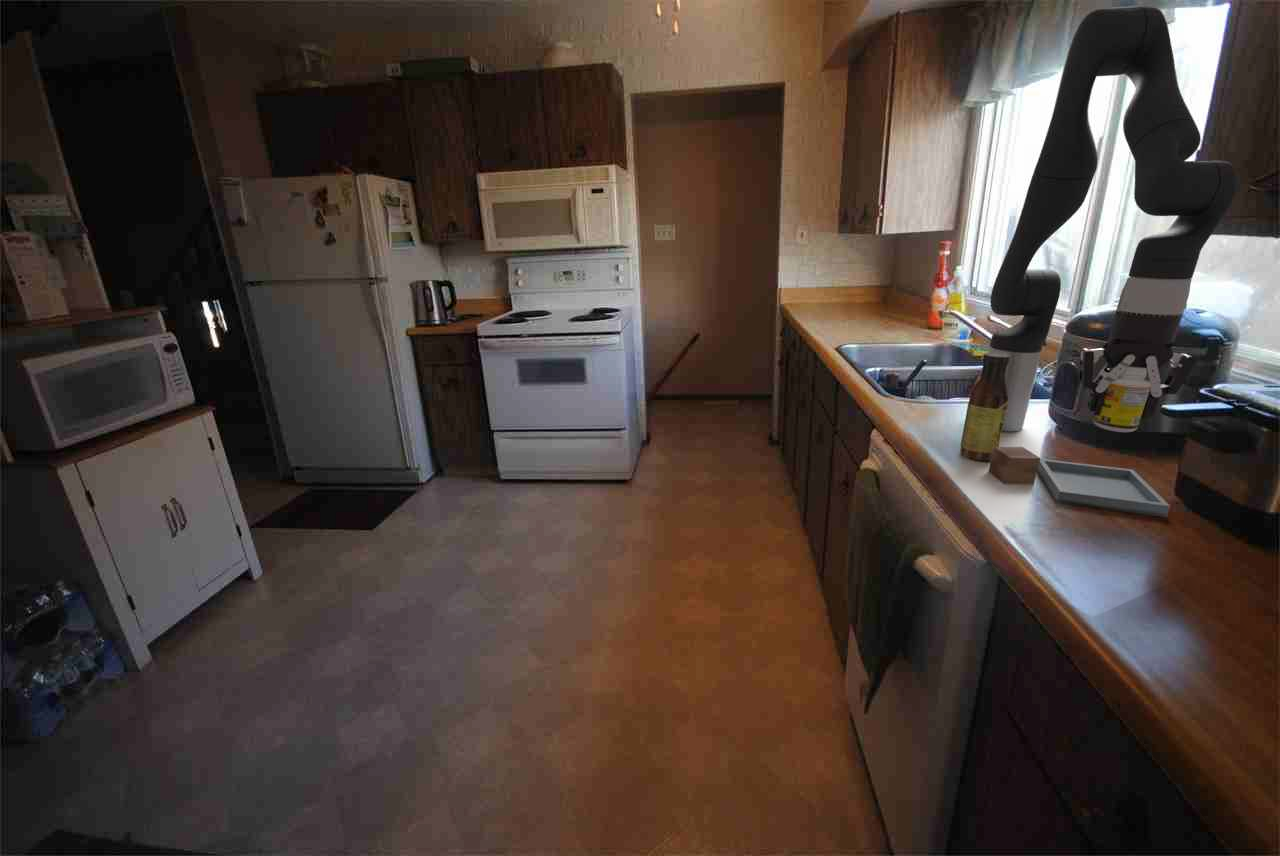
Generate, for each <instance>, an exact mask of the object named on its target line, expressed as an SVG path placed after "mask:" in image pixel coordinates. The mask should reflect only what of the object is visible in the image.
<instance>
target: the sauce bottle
mask: <svg viewBox="0 0 1280 856" xmlns="http://www.w3.org/2000/svg"><path fill="white" fill-rule="evenodd" d="M1009 358H1010V356H1009V355H1006V354H1001V353H988V352H987V353H984V355H983V357H982V369H981V373H980V378H979V380H978V381H977V382H975V384H974V385H973V386H972V387H971V390H970V394H969V400H968V403H967V408H966V413H965V419H964V424H963V430H962V436H961V442H960V454H961V455H962V456H963V457H965V458H966V459H968V460H969V459H970V460H974V461H979V462H989V461H990V462H991V457H992V453H993V449H994V447H1000V446H999V445H1000V444H1001V443H1000V442H1001V437H1002V433H1003V431H1002V429H1003V423H1004V419H1005V414H1006V409H1007V404H1008V393H1007V388H1006V382H1005V373H1006V367H1007V364H1008V363H1009Z"/></svg>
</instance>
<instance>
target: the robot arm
mask: <svg viewBox="0 0 1280 856" xmlns="http://www.w3.org/2000/svg"><path fill="white" fill-rule="evenodd" d="M1064 61H1065V62H1064V66H1063V68H1062V69H1063V70H1062V73H1061V77H1060V81H1059V86H1058V90H1057V95H1056V99H1055V104H1054V108H1053V111H1052V114H1051V119H1050V122H1049V125H1048V128H1047V131H1046V135H1045V139H1044V141H1043V143H1042V147H1041V151H1040V154H1039V156H1038V158H1037V159H1038V160H1037V162H1036V165H1035V167H1034V171H1033V173H1032V176H1031V179H1030V182H1029V185H1028V187H1027V188H1028V189H1027V191H1026V195H1025V198H1024V202H1023V206H1022V209H1021V212H1020V216H1019V219H1018V221H1017V225H1016V227H1015V231H1014V233H1013V237H1012V239H1011V241H1010V244H1009V246H1008V249H1007V251H1006V253H1005V256H1004V258H1003V261H1002V263H1001V266H1000V268H999V270H998V272H997V276H996V278H995V280H994V283H993V287H992V289H991V294H990V308H991V311H992V312H993V313H994V314H995V315H999V316H1006V317H1007V316H1011V317H1012V316H1013V317H1014V316H1015V317H1019V316H1020V317H1022V318H1021V320H1020V321H1019V322H1018V323H1016V324H1014V325H1012V326H1010V327H1007V328H1004V329H1001V330H998V331H995V332H994V333H993V334H992V335H991V338H990V343H989V347H988V352H987V353H1001V354H1006V355H1009V356H1010V358H1009V363H1008V364H1007V367H1006V373H1005V382H1006V388H1007V393H1008V404H1007V409H1006V414H1005V419H1004V423H1003V429H1002V432H1018V431H1019V432H1020V431H1022V430H1023V429H1024V428H1023V427H1024V423H1025V419H1026V415H1027V412H1028V407H1029V403H1030V399H1031V395H1032V392H1033V387H1034V383H1035V380H1036V379H1035V378H1036V376H1037V375H1036V374H1037V371H1038V366H1039V362H1040V358H1041V354H1042V350H1043V346H1044V344H1045V341H1046V339H1047V337H1048V335H1049V332H1050V328H1051V325H1052V322H1053V318H1054V315H1055V312H1056V309H1057V306H1058V303H1059V299H1060V297H1061V296H1060V294H1061V288H1062V280H1061V278H1060V274H1059V273H1058V272H1057V271H1055V270H1053V269H1029V266H1030V263H1031V262H1032V261H1033V258H1034V256H1035V255H1036V253H1037V252H1038V251H1039V250H1040V248H1041V247H1042V245H1043V244H1044V243H1045V242H1046V241H1047V240H1048V239H1049V238H1051V236H1053V235H1054V234H1055V233H1056V232H1057V231H1058V230H1059V229H1061V227H1062V226H1063V225H1065V224H1066V223H1067V222H1068V221H1069V220H1070V219H1071V218H1072V217H1073V216H1074V215H1075V214H1076V213H1077V212H1078V211H1079V209H1080V208H1081V207H1082V205H1083V204H1084V202H1085V200H1086V197H1087V196H1088V193H1089V191H1090V187H1091V185H1092V182H1093V180H1094V177H1095V175H1096V171H1097V169H1098V164H1099V156H1098V155H1099V154H1098V150H1097V146H1096V143H1095V139H1094V135H1093V132H1092V129H1091V123H1090V118H1089V107H1090V101H1091V97H1092V91H1093V87H1094V84H1095V83H1096V79H1097V77H1109V76H1121V75H1125V76H1126V77H1128V78H1129V80H1130V81H1131V82H1132V84H1133V85H1134V88H1135V90H1134V91H1135V92H1134V94H1133V95H1132V98H1131V100H1130V101H1129V104H1128V106H1127V108H1126V109H1125V112H1124V116H1123V122H1122V131H1123V135H1124V138H1125V141H1126V143H1127V145H1128V148H1129V151H1130V152H1131V154H1132V158H1133V159H1134V188H1133V189H1134V190H1133V191H1134V192H1133V195H1134V197H1133V198H1134V202H1135V203H1136V206H1137V207H1138V208H1139V209H1140V211H1142V212H1144V213H1145V214H1147V215H1148V216H1149V215H1150V216H1152V217H1153V216H1154V217H1177V218H1175V220H1174V222H1173V223H1172V224H1171V226H1169V228H1168V229H1167V230H1165V231H1164V232H1161V233H1160V232H1159V233H1156V234H1151V235H1147V236H1145V237H1143V238H1142V239H1140V241H1138V243H1137V246H1136V248H1135V251H1134V255H1133V259H1132V262H1131V265H1130V268H1129V272H1128V276H1127V278H1126V281H1125V283H1124V285H1123V288H1122V290H1121V293H1120V296H1119V299H1118V303H1117V306H1116V307H1117V308H1116V310H1115V313H1114V317H1113V321H1112V323H1111V328H1110V331H1109V336H1108V340H1107V341H1106V343H1105V344H1104V345H1103V346H1102V347H1100V348H1087V347H1083V348H1081V349H1080V350H1079V357H1078V375H1077V376H1078V379H1077V380H1078V381H1077V382H1078V384H1080V385H1082V387H1083V388H1084V389H1089V395H1088V399H1087V402H1086V409H1087V410H1088V411H1089V413H1090V414H1091V415H1092V416H1095V415H1099V414H1100V411H1101V407H1102V404H1103V400H1104V397H1105V393H1103V392H1104V391H1105V390H1106V388H1107V387H1108V386H1109V385H1110V384H1111V382H1112V381H1115V380H1116V379H1117V378H1118V377H1119V376H1120V375H1121V374H1122V372H1123V371H1124V370H1125V369H1126V368H1127V367H1128V366H1130V367H1145V368H1147V377H1146V378H1145V379H1147V380H1149V382H1150V383H1151V388H1150V391H1149V394H1148V397H1147V401H1146V404H1145V407H1144V410H1143V413H1142V416H1141V419H1140V420H1144V421H1145V420H1148V419H1149V417H1152V416H1153V415H1154V414H1155V411H1156V408H1157V405H1158V403H1159V400H1160V398H1161V397H1162V396H1165V395H1166V396H1167V395H1176V394H1178V392H1179V391H1180V389H1181V387H1182V386H1183V384H1184V382H1185V380H1186V379H1187V377H1188V375H1189V374H1190V371H1191V370H1192V368H1193V367H1194V365H1195V363H1196V362H1197V359H1196V357H1195V356H1192V355H1189V354H1187V353H1184V352H1183V353H1177V352H1174V350H1173V345H1174V342H1175V340H1176V337H1177V334H1178V330H1179V327H1180V324H1181V321H1182V319H1183V315H1184V312H1185V310H1186V309H1187V306H1188V303H1187V302H1188V299H1189V296H1190V292H1191V291H1190V290H1191V283H1192V279H1193V276H1194V273H1195V271H1196V268H1197V265H1198V261H1199V259H1200V254H1201V251H1202V249H1203V248H1204V247H1205V244H1206V243H1207V242H1208V241H1209V239H1210V238H1211V236H1212V234H1213V233H1214V231H1215V230H1216V228H1217V226H1218V225H1219V224H1220V222H1221V221H1222V220H1223V218H1224V217H1225V215H1226V213H1227V212H1228V210H1229V209H1230V208H1231V206H1232V204H1233V202H1234V201H1235V199H1236V197H1237V194H1238V191H1239V187H1240V174H1239V170H1238V169H1237V167H1236V166H1235V165H1234V164H1233V163H1231V162H1229V161H1225V160H1188V159H1189V158H1191V157H1192V156H1193V155H1194V153H1196V151H1197V150H1198V148H1199V146H1200V144H1201V139H1202V138H1201V133H1200V130H1199V128H1198V126H1197V124H1196V122H1195V120H1194V117H1193V115H1192V113H1190V112H1191V111H1190V110H1189V108H1188V106H1187V104H1186V102H1185V100H1184V97H1183V96H1182V95H1183V94H1182V91H1181V89H1180V87H1179V86H1180V85H1179V82H1178V78H1177V71H1176V66H1175V65H1176V64H1175V58H1174V52H1173V47H1172V41H1171V37H1170V30H1169V26H1168V22H1167V20H1166V18H1165V15H1164V13H1163V12H1162V10H1161V9H1160V8H1158V7H1157V6H1152V5H1135V6H1134V5H1133V6H1119V7H1117V6H1116V7H1105V8H1098V9H1094V10H1091V12H1089V13H1088V14H1086V16H1085V17H1084V18H1083V19H1082V20H1081V21H1080V23H1079V24H1078V27H1077V28H1076V30H1075V32H1074V34H1073V36H1072V39H1071V41H1070V44H1069V48H1068V51H1067V53H1066V57H1065V60H1064ZM1187 160H1188V161H1187ZM1101 356H1102V357H1103V359H1104V360H1105V362H1106V364H1105V365H1104V366H1103V367H1102V369H1101V370H1100V371H1099V373H1098V375H1097V377H1096V378H1095V379H1093V378H1094V364H1096V363H1097V362H1098V361H1099V359H1100V357H1101ZM1169 361H1170V362H1169ZM1168 362H1169V365H1170V366H1171V368H1170V370H1169V371H1168V372H1167V375H1166V377H1165V379H1164V380H1163V382H1162V384H1161V376H1160V372H1159V371H1160V370H1159V368H1161V367H1163V365H1165V364H1166V363H1168Z"/></svg>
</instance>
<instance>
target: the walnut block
mask: <svg viewBox="0 0 1280 856" xmlns="http://www.w3.org/2000/svg"><path fill="white" fill-rule="evenodd" d="M1040 459H1042V458H1041V457H1039V456H1038V455H1036V454H1035V453H1033V452H1032V451H1030V450H1029V449H1027V448H1025V447H1023V446H999V447H994V449H993V453H992V457H991V460H990V463H989V466H988V471H987V472H988V473H989V474H990V475H991V476H992V477H995V478H996V479H997V480H998V481H999V482H1001V483H1002V484H1003V485H1035V482H1036V478H1037V474H1038V472H1037V470H1038V466H1039V463H1040Z"/></svg>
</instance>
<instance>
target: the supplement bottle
mask: <svg viewBox="0 0 1280 856" xmlns="http://www.w3.org/2000/svg"><path fill="white" fill-rule="evenodd" d="M1146 377H1147V368H1145V367H1130V366H1128V367H1127V368H1126V369H1125V370H1124V371H1123V372H1122V374H1121V375H1120V376H1119V377H1118V378H1117V379H1116V380H1115V381H1112V382H1111V384H1110V385H1109V386H1108V387H1107V388H1106V390H1105V391H1104V392H1103V393H1105V397H1104V400H1103V404H1102V407H1101V411H1100V414H1099V415H1093V416H1094V417H1093V423H1094V425H1095V426H1096V427H1098V428H1101V429H1104V430H1107V431H1111V432H1117V433H1131V432H1134V431H1136V430H1137V429H1138V428H1139V424H1140V421H1141V420H1142V419H1141V416H1142V413H1143V410H1144V407H1145V404H1146V401H1147V397H1148V394H1149V391H1150V388H1151V383H1150V382H1149V380H1147V379H1145V378H1146Z"/></svg>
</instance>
